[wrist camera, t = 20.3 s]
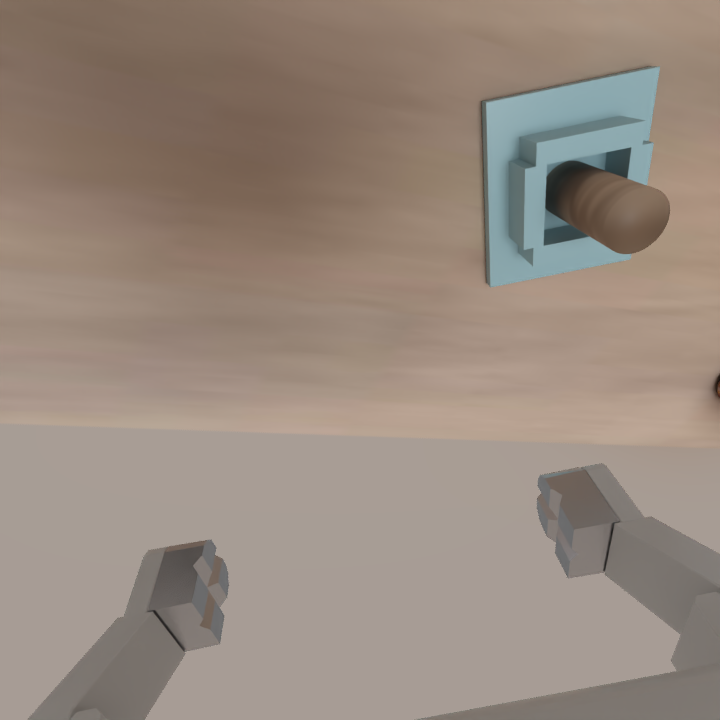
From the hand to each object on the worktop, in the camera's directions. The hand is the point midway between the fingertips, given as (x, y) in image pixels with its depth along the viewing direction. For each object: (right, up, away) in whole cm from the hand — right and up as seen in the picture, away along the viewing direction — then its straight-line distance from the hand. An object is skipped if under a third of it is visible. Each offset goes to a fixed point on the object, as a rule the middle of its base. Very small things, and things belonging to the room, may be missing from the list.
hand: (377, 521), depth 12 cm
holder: (+15, +18, +25) cm, 34 cm away
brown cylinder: (+15, +17, +24) cm, 33 cm away
